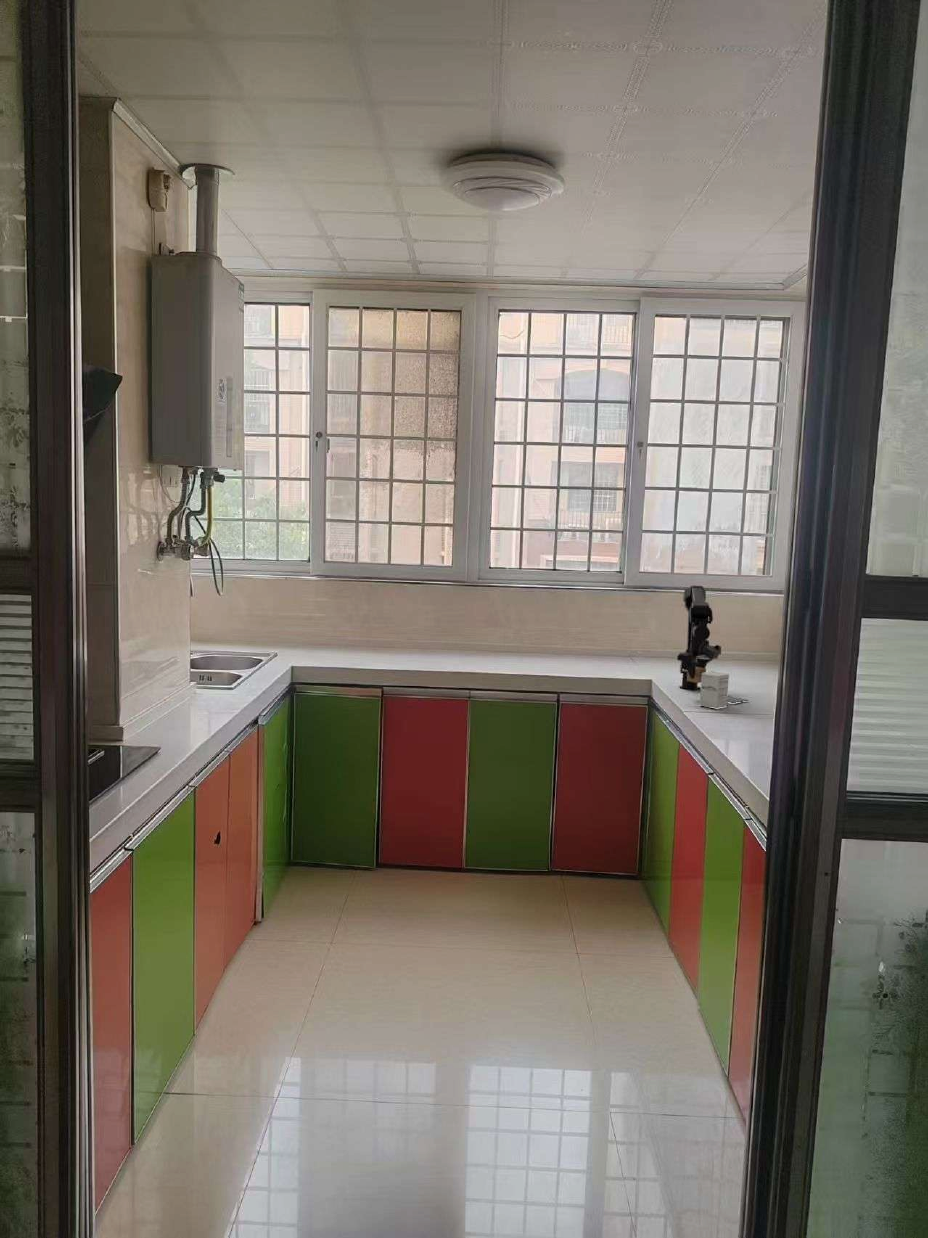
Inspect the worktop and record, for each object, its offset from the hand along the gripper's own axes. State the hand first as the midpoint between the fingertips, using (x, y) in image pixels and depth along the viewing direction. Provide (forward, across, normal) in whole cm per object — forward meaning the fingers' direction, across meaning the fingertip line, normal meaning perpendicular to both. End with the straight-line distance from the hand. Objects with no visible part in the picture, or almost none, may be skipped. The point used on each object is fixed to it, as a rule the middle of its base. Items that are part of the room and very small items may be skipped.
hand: (696, 677), depth 369 cm
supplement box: (+8, -8, -13) cm, 17 cm away
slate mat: (+8, +7, -11) cm, 15 cm away
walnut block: (+1, 0, 0) cm, 1 cm away
